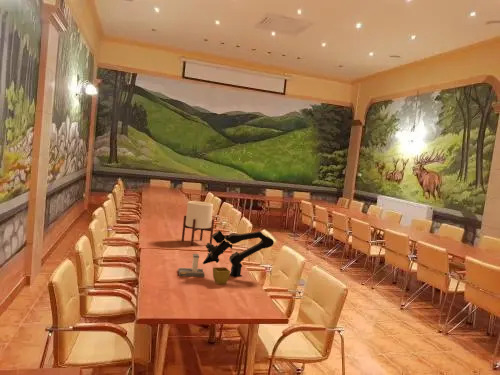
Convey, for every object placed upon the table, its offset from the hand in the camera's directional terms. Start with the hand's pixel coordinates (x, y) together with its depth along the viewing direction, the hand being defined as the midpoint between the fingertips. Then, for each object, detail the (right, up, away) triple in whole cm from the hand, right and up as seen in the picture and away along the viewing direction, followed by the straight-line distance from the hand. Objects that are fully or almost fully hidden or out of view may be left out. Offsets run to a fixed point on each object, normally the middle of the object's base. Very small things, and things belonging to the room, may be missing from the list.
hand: (203, 263), depth 280 cm
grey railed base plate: (-8, -6, -1) cm, 10 cm away
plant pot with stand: (-17, +1, +96) cm, 98 cm away
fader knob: (-6, -5, -1) cm, 8 cm away
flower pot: (+12, -10, -15) cm, 22 cm away
